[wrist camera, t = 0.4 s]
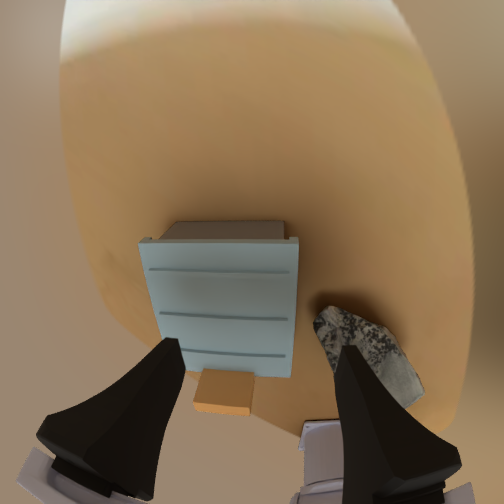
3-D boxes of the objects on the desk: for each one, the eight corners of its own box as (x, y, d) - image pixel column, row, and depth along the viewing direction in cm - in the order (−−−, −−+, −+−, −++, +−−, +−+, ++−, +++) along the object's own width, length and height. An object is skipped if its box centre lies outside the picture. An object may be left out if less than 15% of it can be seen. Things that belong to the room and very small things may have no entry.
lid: (289, 373, 21) (289, 417, 17) (177, 365, 22) (161, 404, 18) (298, 237, 16) (302, 274, 12) (144, 237, 17) (109, 269, 13)
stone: (311, 442, 15) (439, 422, 14) (316, 302, 18) (445, 294, 16) (306, 406, 24) (398, 397, 23) (308, 310, 27) (400, 305, 26)
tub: (281, 330, 24) (280, 363, 20) (193, 325, 25) (181, 356, 21) (283, 220, 20) (284, 242, 16) (176, 221, 20) (155, 242, 17)
